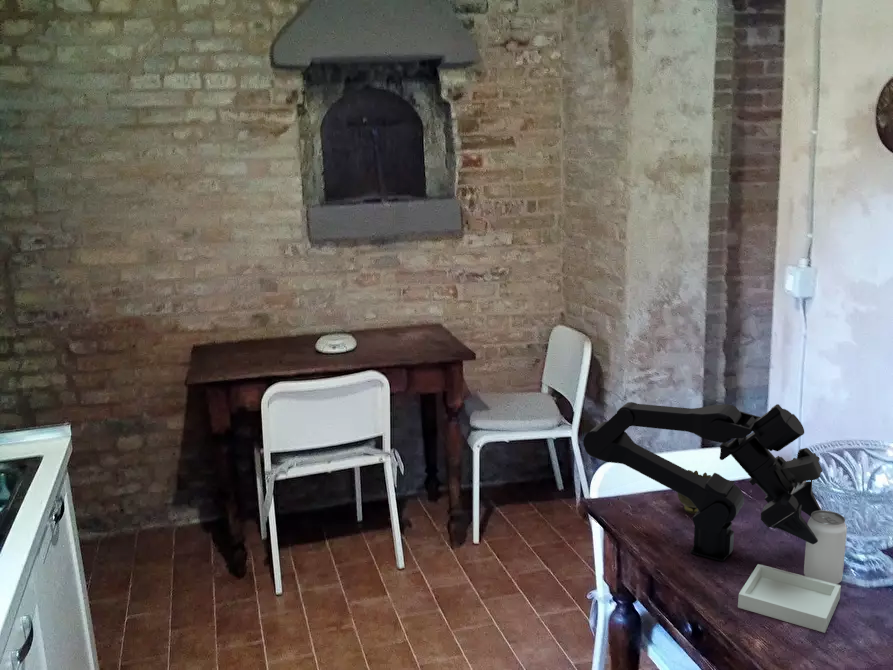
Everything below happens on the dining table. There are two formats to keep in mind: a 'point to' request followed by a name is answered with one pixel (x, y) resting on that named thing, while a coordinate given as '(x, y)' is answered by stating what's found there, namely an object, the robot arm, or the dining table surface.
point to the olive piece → (687, 502)
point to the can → (826, 547)
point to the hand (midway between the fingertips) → (820, 532)
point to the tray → (790, 597)
